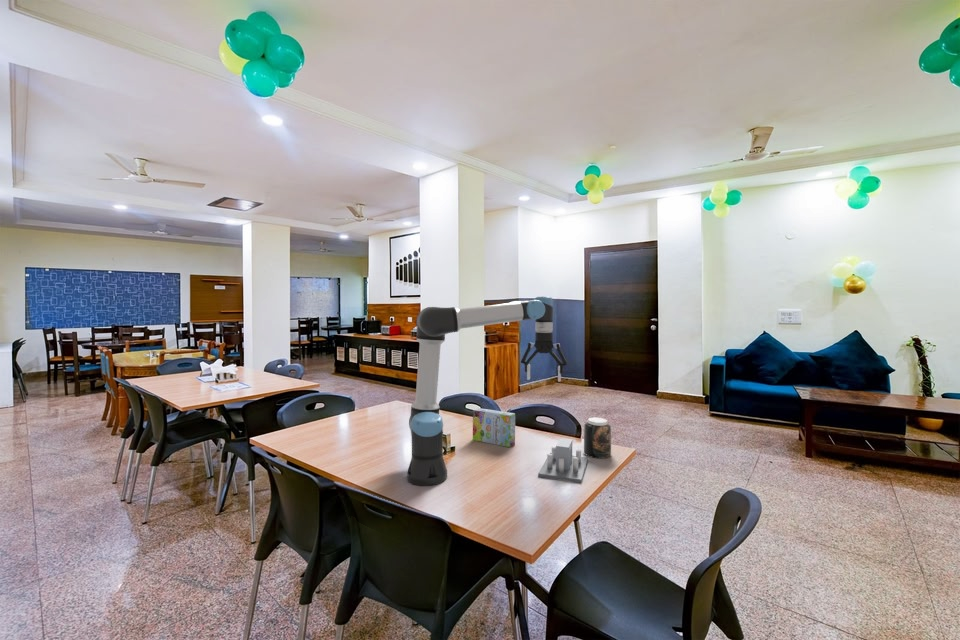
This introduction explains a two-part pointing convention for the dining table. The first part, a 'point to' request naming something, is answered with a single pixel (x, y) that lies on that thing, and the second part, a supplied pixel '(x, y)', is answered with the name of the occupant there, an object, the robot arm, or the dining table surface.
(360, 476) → the dining table surface
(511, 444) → the snack box
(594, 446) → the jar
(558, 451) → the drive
